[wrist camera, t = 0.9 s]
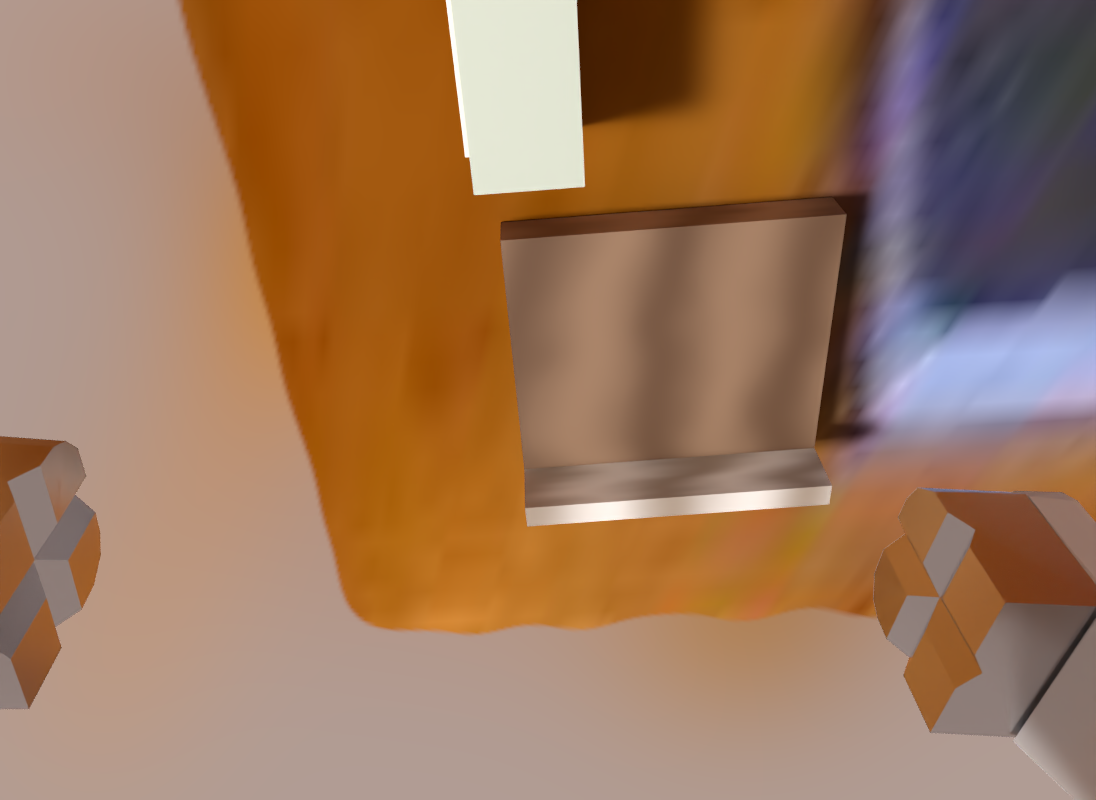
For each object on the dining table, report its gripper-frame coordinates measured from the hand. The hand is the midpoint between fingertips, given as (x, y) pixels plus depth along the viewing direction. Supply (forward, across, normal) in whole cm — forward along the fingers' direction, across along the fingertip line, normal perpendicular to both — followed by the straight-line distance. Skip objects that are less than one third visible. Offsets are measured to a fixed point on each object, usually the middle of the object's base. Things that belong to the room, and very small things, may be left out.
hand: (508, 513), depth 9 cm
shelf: (+30, -9, +15) cm, 35 cm away
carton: (+30, -1, +2) cm, 30 cm away
